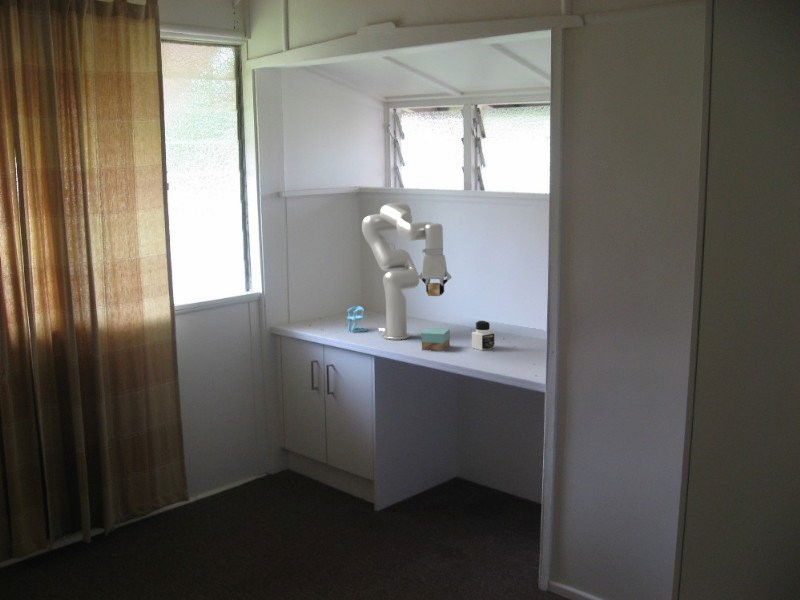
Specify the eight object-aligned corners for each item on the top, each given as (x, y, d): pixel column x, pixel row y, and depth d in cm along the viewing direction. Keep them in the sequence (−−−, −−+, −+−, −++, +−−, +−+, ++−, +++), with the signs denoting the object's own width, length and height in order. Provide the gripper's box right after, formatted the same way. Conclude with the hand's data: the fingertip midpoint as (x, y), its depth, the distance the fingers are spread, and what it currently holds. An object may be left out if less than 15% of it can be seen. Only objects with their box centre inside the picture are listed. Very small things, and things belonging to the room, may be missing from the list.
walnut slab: (421, 351, 365) (421, 342, 365) (428, 345, 375) (427, 337, 374) (444, 352, 362) (443, 343, 362) (449, 346, 372) (449, 338, 371)
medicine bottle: (482, 350, 361) (482, 323, 359) (471, 348, 367) (471, 321, 365) (494, 348, 366) (494, 321, 363) (483, 345, 371) (483, 319, 369)
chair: (344, 331, 408) (343, 307, 406) (358, 328, 413) (357, 304, 411) (353, 333, 402) (352, 309, 400) (368, 330, 407) (366, 306, 405)
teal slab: (421, 342, 365) (421, 333, 364) (428, 337, 374) (428, 328, 373) (443, 343, 362) (443, 334, 361) (449, 338, 371) (449, 329, 370)
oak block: (428, 295, 362) (427, 284, 361) (431, 293, 367) (431, 282, 366) (439, 296, 361) (439, 284, 360) (442, 294, 365) (442, 282, 364)
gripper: (412, 253, 360) (414, 294, 363) (451, 253, 354) (451, 296, 357) (418, 251, 367) (419, 292, 370) (455, 251, 361) (456, 293, 364)
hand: (435, 293), depth 364 cm, fingers closed on oak block, 4 cm apart
